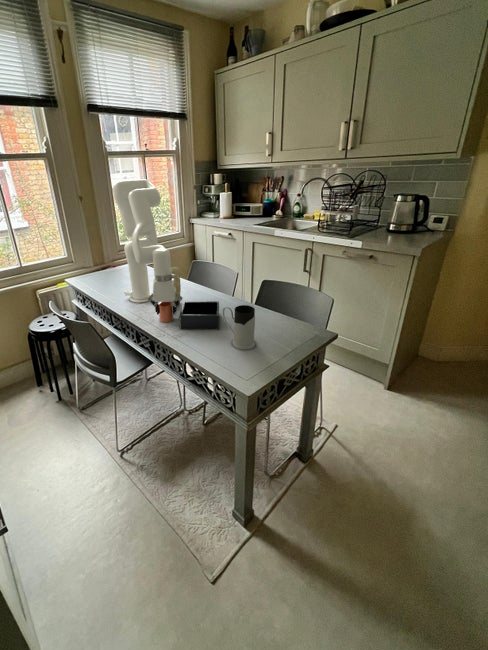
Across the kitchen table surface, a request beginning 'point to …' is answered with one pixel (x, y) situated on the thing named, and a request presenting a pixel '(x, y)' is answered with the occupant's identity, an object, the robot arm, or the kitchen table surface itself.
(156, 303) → the robot arm
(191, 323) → the black storage bin
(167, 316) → the cup
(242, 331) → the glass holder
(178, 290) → the food model
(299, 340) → the kitchen table surface
